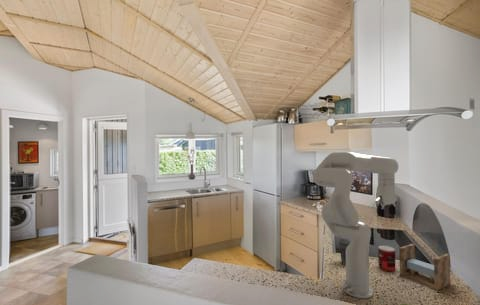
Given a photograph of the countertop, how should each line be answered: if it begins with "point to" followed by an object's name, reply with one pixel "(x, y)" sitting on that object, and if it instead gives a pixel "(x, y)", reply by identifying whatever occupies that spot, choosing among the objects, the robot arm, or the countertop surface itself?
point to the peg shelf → (436, 283)
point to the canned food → (386, 258)
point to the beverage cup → (343, 249)
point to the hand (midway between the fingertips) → (386, 215)
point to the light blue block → (421, 267)
